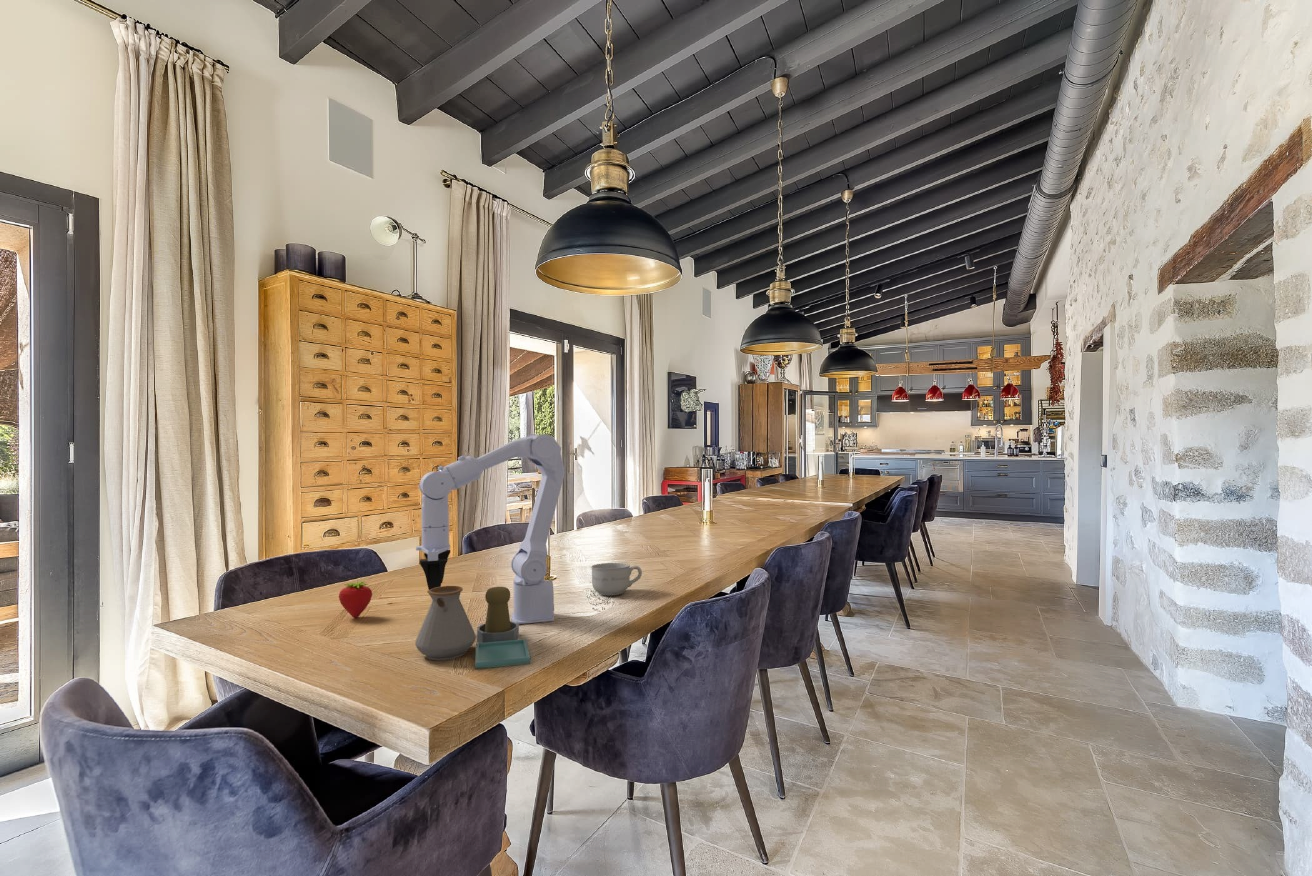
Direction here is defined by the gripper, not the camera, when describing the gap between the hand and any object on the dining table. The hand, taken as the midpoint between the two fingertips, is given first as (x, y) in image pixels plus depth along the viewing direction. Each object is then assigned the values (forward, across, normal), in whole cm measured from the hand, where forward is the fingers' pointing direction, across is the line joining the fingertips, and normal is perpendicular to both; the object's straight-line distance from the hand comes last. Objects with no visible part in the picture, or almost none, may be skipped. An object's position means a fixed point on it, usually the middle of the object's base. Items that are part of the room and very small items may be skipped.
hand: (436, 587), depth 134 cm
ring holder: (+10, +8, +13) cm, 18 cm away
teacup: (+11, -22, +45) cm, 51 cm away
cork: (+10, +8, +13) cm, 19 cm away
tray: (+10, +19, +14) cm, 26 cm away
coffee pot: (+10, +19, +3) cm, 22 cm away
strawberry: (+10, -17, -20) cm, 28 cm away
